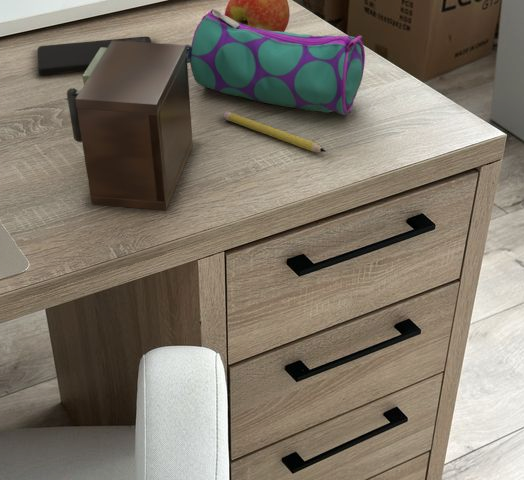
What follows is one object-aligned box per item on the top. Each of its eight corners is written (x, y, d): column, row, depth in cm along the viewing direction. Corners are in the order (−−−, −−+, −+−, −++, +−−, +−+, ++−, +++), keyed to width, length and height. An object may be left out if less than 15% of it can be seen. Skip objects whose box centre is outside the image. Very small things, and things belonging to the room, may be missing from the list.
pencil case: (182, 98, 116) (177, 22, 109) (214, 68, 122) (210, -7, 115) (343, 132, 109) (347, 53, 103) (368, 98, 115) (374, 21, 109)
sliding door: (73, 166, 103) (58, 74, 96) (91, 136, 108) (77, 45, 101) (102, 169, 103) (89, 76, 96) (119, 138, 108) (107, 47, 100)
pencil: (323, 157, 105) (324, 149, 104) (224, 121, 111) (223, 113, 111) (328, 153, 106) (329, 145, 105) (229, 117, 112) (229, 109, 111)
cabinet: (91, 204, 99) (75, 98, 91) (124, 141, 108) (112, 40, 100) (166, 210, 98) (156, 104, 90) (192, 146, 107) (186, 44, 99)
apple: (216, 48, 126) (213, -12, 120) (251, 26, 131) (250, -33, 125) (266, 63, 122) (266, 2, 117) (300, 39, 128) (302, -20, 122)
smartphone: (39, 76, 120) (157, 63, 122) (38, 69, 120) (156, 57, 122) (37, 51, 126) (150, 39, 128) (35, 45, 125) (149, 33, 127)
